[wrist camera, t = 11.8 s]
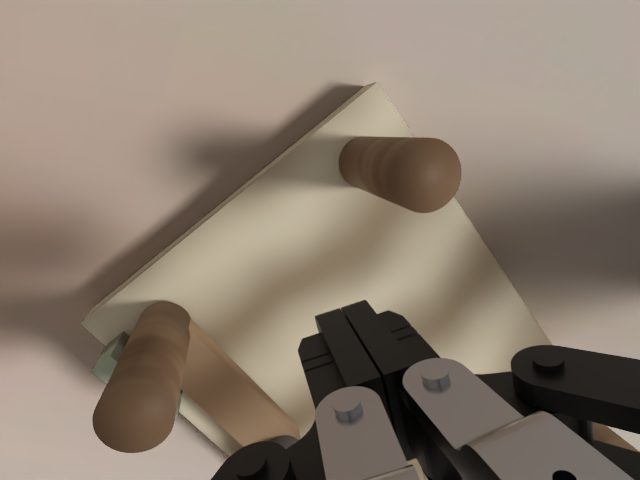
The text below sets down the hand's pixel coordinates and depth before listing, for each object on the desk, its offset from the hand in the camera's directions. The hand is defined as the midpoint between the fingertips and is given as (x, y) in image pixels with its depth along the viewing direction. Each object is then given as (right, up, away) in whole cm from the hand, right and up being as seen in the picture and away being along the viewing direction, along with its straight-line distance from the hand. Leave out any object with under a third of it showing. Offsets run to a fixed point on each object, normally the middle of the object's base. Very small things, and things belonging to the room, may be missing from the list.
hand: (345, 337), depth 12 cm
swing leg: (-5, -4, +9) cm, 12 cm away
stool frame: (+1, -3, +13) cm, 13 cm away
